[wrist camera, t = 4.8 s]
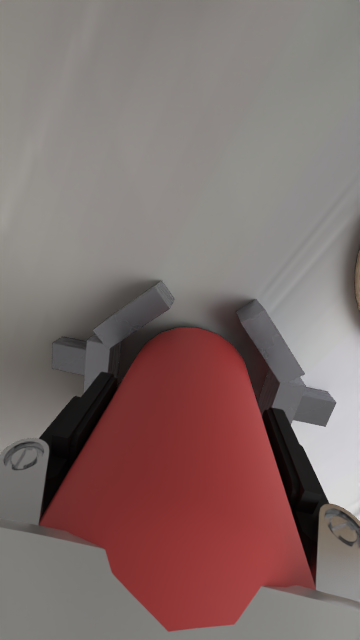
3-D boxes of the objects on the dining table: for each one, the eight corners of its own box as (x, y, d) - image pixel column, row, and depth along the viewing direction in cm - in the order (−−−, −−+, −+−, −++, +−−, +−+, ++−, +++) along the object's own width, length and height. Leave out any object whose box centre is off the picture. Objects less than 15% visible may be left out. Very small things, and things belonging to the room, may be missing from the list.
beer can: (148, 427, 16) (16, 860, 5) (122, 332, 14) (-183, 675, 3) (252, 417, 15) (387, 928, 4) (239, 314, 14) (424, 720, 2)
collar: (358, 319, 13) (385, 333, 11) (293, 470, 16) (305, 501, 14) (64, 261, 14) (41, 265, 12) (59, 418, 17) (40, 441, 15)
